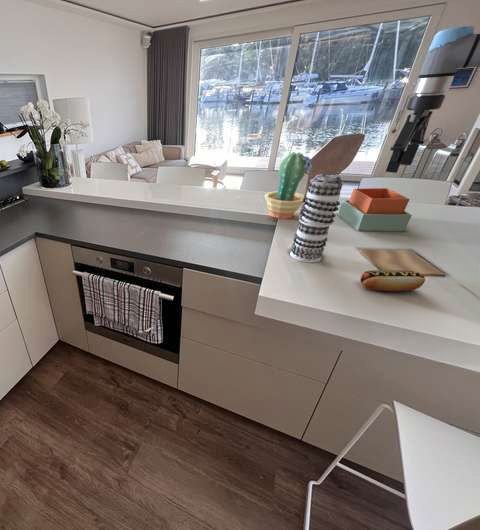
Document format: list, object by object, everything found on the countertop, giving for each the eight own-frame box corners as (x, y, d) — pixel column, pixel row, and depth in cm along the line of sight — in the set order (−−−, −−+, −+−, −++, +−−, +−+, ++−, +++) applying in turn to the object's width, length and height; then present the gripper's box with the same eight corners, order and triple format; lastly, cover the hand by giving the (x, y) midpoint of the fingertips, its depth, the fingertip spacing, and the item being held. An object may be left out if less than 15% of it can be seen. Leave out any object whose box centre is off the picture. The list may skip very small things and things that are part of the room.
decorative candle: (282, 253, 93) (300, 175, 81) (302, 247, 96) (324, 170, 83) (307, 265, 86) (332, 182, 73) (329, 258, 89) (357, 176, 76)
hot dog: (424, 295, 71) (434, 278, 68) (364, 294, 73) (371, 278, 70) (409, 284, 75) (418, 268, 72) (353, 283, 77) (360, 267, 74)
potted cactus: (283, 224, 113) (298, 158, 100) (252, 213, 125) (263, 152, 113) (310, 216, 118) (328, 152, 105) (278, 206, 130) (291, 147, 118)
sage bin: (378, 216, 113) (384, 199, 110) (403, 232, 100) (412, 214, 96) (337, 215, 116) (342, 200, 113) (357, 232, 103) (363, 214, 99)
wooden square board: (410, 252, 88) (411, 250, 88) (444, 276, 77) (445, 274, 76) (358, 250, 91) (359, 249, 91) (383, 273, 80) (384, 272, 79)
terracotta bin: (376, 216, 112) (387, 188, 106) (396, 229, 101) (409, 198, 96) (344, 215, 114) (353, 188, 109) (360, 228, 103) (371, 199, 98)
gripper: (424, 92, 93) (397, 160, 104) (397, 97, 81) (369, 173, 92) (457, 91, 88) (425, 163, 98) (433, 96, 76) (399, 177, 87)
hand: (398, 168), depth 95 cm, fingers open, 13 cm apart
